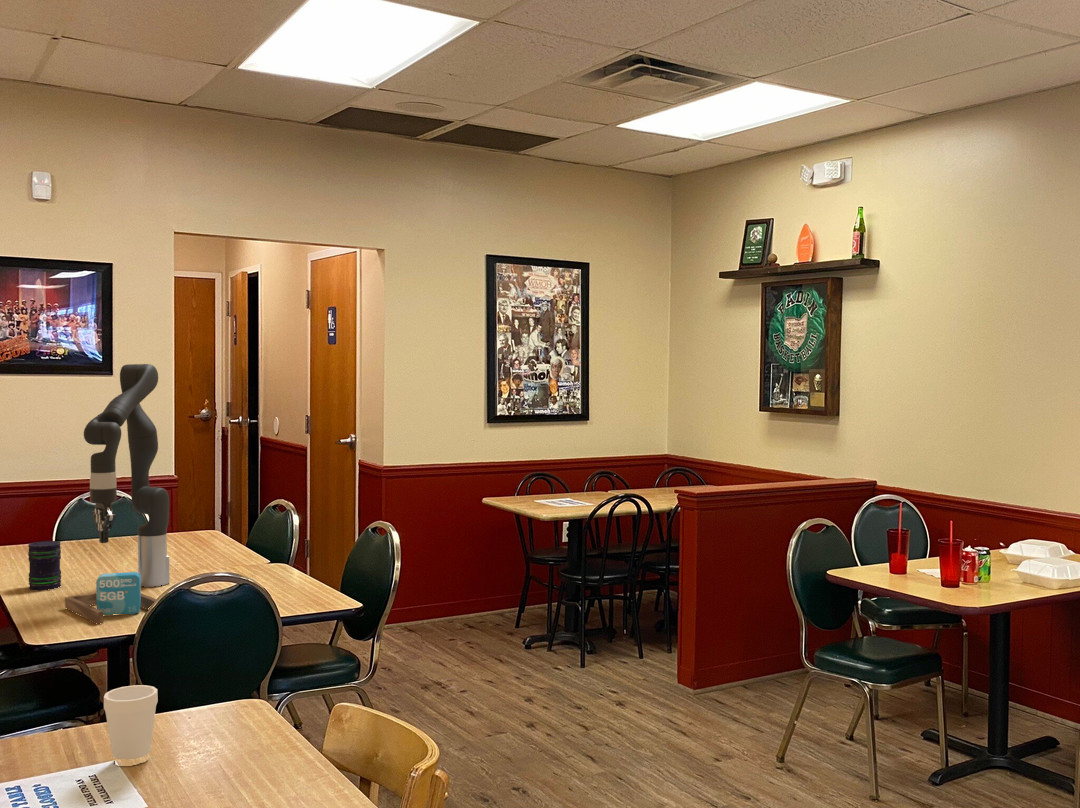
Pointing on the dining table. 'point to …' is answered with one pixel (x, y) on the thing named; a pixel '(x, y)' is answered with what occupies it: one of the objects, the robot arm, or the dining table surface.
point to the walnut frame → (84, 609)
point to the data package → (119, 593)
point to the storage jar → (44, 565)
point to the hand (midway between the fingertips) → (103, 542)
